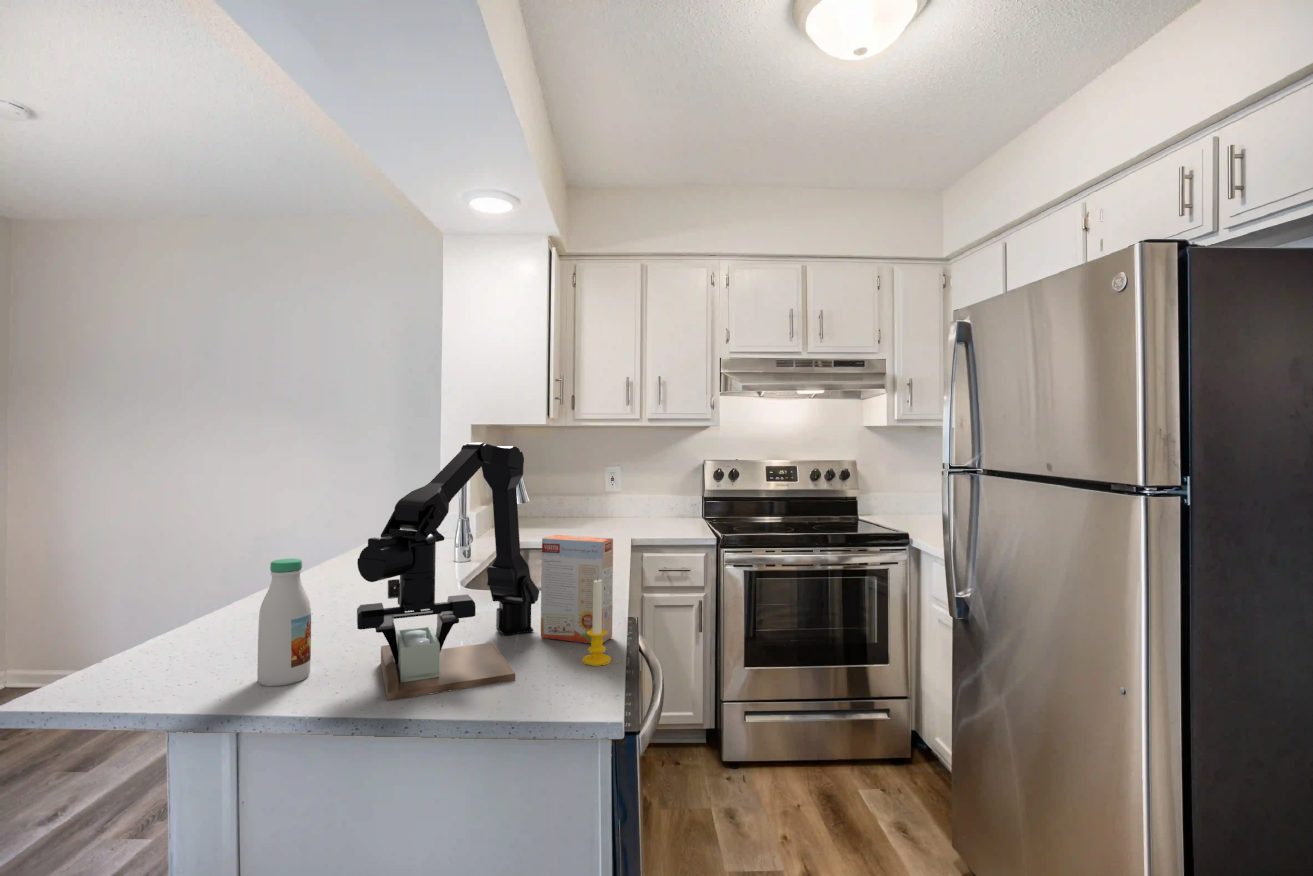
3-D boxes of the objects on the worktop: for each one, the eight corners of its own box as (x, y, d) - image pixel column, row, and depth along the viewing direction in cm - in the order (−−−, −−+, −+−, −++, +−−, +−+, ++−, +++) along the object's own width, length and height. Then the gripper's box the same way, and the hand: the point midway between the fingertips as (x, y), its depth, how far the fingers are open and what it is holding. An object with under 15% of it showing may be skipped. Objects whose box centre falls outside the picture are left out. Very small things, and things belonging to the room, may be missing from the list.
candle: (584, 667, 113) (586, 581, 113) (580, 657, 118) (581, 575, 118) (613, 665, 114) (614, 579, 115) (607, 655, 120) (609, 573, 120)
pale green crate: (430, 656, 114) (431, 626, 114) (439, 676, 104) (439, 643, 104) (395, 661, 111) (395, 630, 111) (400, 682, 101) (400, 648, 101)
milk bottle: (272, 691, 100) (274, 566, 101) (248, 681, 104) (250, 561, 105) (319, 676, 107) (321, 559, 107) (295, 667, 111) (297, 554, 111)
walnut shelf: (492, 648, 122) (492, 632, 122) (515, 680, 106) (515, 661, 106) (380, 663, 113) (381, 646, 113) (387, 700, 97) (387, 680, 97)
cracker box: (613, 637, 130) (614, 537, 131) (601, 646, 125) (602, 541, 125) (553, 630, 135) (555, 533, 135) (539, 638, 129) (541, 537, 130)
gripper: (465, 558, 119) (464, 640, 119) (356, 566, 111) (355, 654, 111) (476, 569, 109) (475, 658, 109) (358, 578, 101) (357, 675, 101)
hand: (416, 661), depth 108 cm, fingers closed on pale green crate, 6 cm apart
